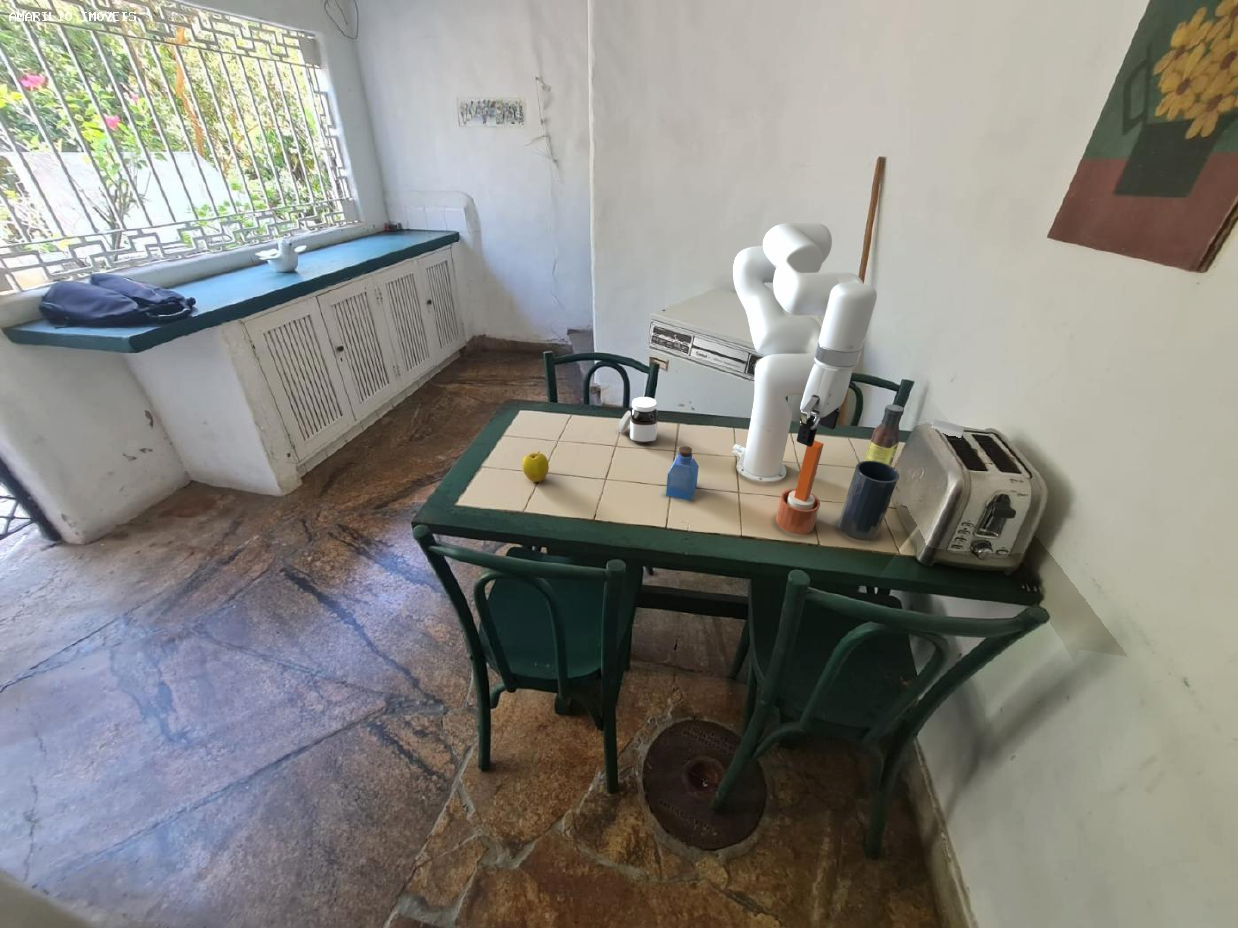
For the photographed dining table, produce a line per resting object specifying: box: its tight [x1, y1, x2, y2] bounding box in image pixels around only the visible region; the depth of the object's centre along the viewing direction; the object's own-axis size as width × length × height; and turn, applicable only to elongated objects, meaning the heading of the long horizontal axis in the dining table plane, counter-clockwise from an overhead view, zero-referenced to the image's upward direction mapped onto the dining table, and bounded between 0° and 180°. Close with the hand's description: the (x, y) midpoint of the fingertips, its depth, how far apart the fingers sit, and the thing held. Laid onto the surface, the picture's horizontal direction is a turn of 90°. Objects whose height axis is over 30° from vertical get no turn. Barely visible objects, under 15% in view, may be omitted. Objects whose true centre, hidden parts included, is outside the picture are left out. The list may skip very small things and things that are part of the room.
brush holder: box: [775, 488, 821, 535], centre depth 113 cm, size 8×8×7 cm
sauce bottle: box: [863, 403, 905, 467], centre depth 126 cm, size 6×6×20 cm
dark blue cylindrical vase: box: [837, 460, 900, 542], centre depth 109 cm, size 8×8×16 cm
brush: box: [787, 439, 825, 510], centre depth 109 cm, size 5×5×20 cm
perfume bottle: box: [665, 445, 700, 502], centre depth 122 cm, size 6×6×12 cm
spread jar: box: [616, 396, 659, 446], centre depth 145 cm, size 12×11×12 cm
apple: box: [521, 450, 550, 483], centre depth 127 cm, size 6×6×8 cm
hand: (815, 435), depth 103 cm, fingers open, 9 cm apart
